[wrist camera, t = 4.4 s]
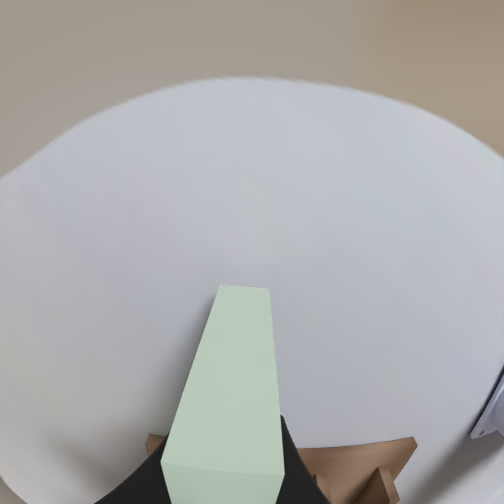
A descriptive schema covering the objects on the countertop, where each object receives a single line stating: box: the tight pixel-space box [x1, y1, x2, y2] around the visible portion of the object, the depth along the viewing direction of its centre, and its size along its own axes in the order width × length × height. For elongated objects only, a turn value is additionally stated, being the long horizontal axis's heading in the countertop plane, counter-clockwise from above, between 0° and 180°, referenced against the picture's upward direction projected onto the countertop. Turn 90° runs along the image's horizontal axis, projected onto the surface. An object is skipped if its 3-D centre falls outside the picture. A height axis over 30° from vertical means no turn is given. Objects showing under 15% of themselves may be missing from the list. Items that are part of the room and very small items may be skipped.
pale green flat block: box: [161, 285, 285, 504], centre depth 7 cm, size 2×8×7 cm, turn 176°
